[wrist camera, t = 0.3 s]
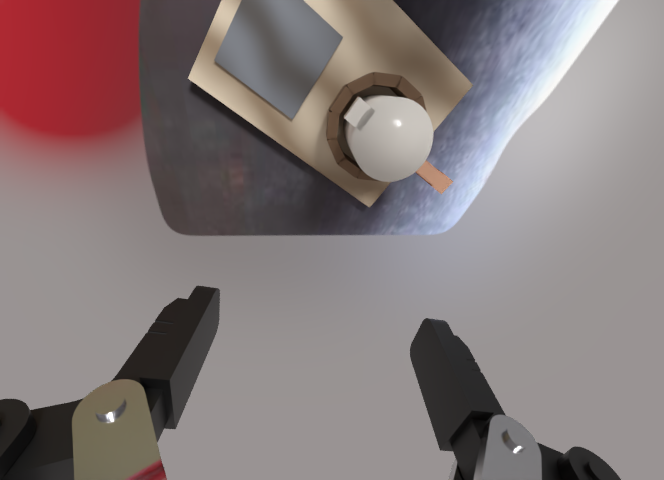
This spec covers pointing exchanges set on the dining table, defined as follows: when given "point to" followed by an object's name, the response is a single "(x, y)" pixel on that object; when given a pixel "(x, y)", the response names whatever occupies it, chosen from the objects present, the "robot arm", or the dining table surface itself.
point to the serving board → (322, 74)
